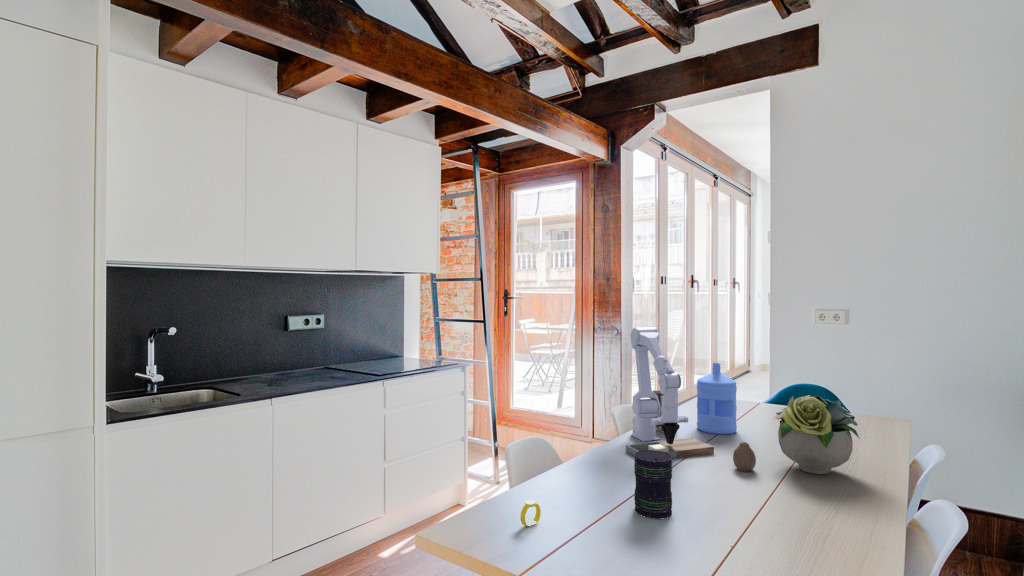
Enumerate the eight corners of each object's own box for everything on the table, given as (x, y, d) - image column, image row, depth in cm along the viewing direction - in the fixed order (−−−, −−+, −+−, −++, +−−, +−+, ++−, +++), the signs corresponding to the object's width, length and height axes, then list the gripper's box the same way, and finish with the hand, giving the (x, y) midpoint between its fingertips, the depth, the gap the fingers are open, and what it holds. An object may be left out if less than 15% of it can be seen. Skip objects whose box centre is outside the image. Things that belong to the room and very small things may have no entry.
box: (626, 451, 191) (626, 445, 191) (656, 448, 196) (656, 441, 196) (644, 462, 180) (644, 455, 180) (676, 458, 184) (676, 451, 184)
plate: (656, 448, 196) (656, 441, 196) (692, 444, 201) (692, 437, 201) (676, 458, 184) (676, 451, 184) (713, 453, 189) (713, 446, 189)
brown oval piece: (758, 469, 173) (758, 443, 173) (751, 475, 168) (751, 447, 168) (737, 464, 178) (737, 438, 178) (729, 469, 172) (729, 443, 173)
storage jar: (631, 503, 146) (631, 449, 146) (666, 503, 145) (666, 450, 145) (638, 519, 136) (638, 461, 136) (676, 519, 135) (676, 461, 135)
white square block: (648, 452, 190) (648, 445, 190) (659, 450, 191) (659, 444, 191) (657, 456, 185) (656, 449, 185) (668, 454, 187) (668, 447, 187)
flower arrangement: (777, 453, 189) (777, 386, 189) (861, 467, 175) (861, 394, 175) (765, 473, 169) (765, 397, 169) (858, 490, 154) (858, 408, 155)
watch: (526, 531, 130) (525, 508, 129) (518, 528, 132) (517, 504, 131) (543, 522, 134) (542, 499, 133) (535, 519, 136) (534, 496, 135)
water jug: (702, 423, 232) (702, 360, 232) (740, 428, 223) (740, 363, 223) (692, 431, 220) (691, 364, 220) (731, 437, 210) (731, 367, 211)
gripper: (658, 409, 184) (658, 448, 184) (693, 407, 189) (693, 444, 189) (647, 405, 191) (647, 442, 191) (681, 402, 196) (681, 439, 196)
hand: (669, 443), depth 190 cm, fingers closed
